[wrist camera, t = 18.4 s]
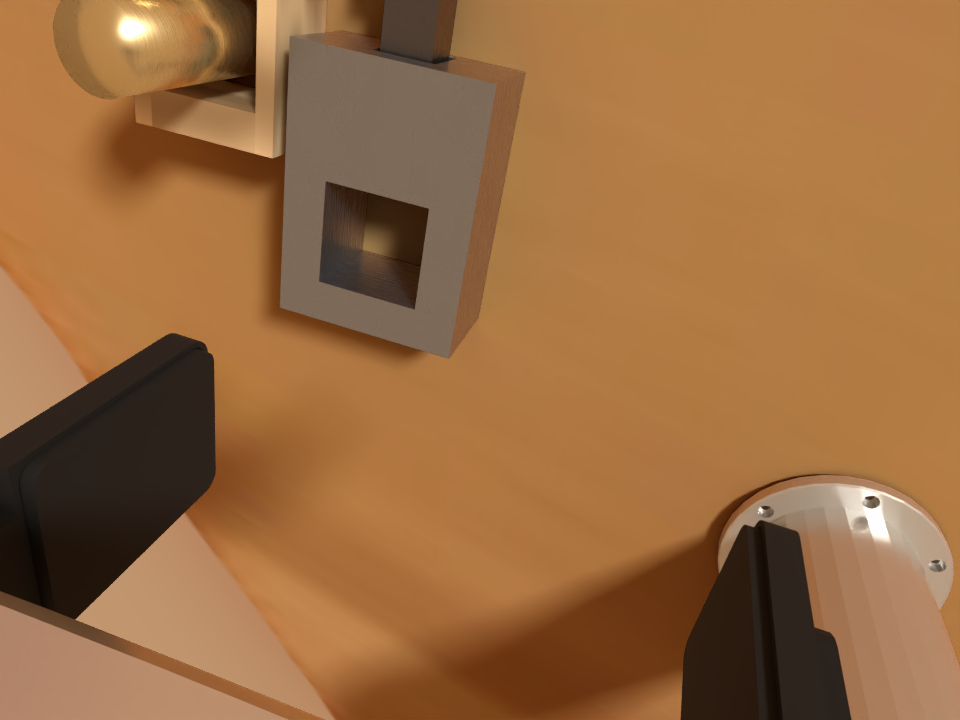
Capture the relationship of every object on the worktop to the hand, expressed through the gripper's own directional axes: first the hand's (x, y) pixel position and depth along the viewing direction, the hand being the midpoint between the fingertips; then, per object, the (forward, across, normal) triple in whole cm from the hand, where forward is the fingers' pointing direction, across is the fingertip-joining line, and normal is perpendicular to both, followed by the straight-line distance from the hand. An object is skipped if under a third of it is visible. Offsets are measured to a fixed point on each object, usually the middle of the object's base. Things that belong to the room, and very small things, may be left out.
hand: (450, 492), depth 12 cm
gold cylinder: (+28, +21, -2) cm, 35 cm away
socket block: (+28, +11, +4) cm, 31 cm away
